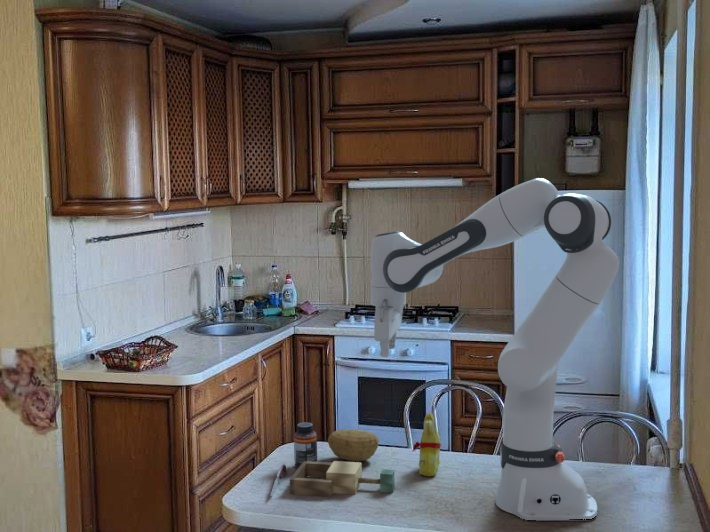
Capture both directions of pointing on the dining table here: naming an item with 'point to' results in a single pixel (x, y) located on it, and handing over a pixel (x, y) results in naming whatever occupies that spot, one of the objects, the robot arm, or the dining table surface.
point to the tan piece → (311, 486)
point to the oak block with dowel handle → (356, 478)
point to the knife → (278, 478)
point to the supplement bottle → (305, 444)
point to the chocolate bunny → (429, 447)
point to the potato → (353, 444)
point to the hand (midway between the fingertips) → (388, 352)
